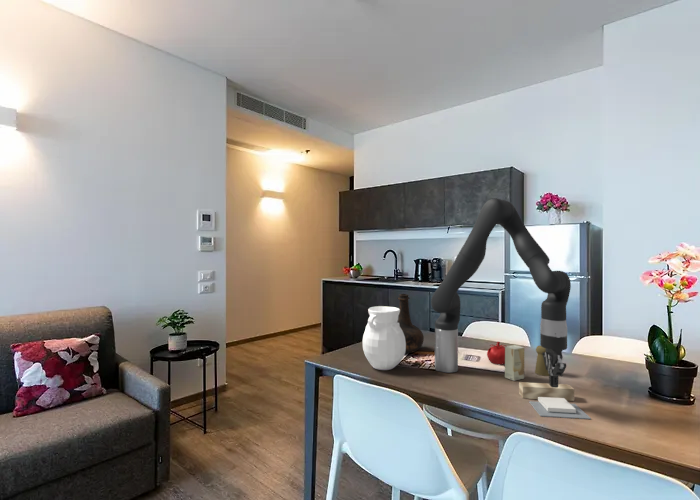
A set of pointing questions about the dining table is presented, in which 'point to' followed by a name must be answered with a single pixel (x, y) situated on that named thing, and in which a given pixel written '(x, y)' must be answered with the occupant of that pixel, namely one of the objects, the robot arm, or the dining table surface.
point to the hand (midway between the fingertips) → (553, 386)
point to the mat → (545, 413)
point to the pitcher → (384, 338)
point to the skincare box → (514, 362)
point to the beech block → (545, 391)
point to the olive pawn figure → (540, 362)
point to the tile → (556, 405)
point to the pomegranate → (497, 354)
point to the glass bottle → (409, 326)
